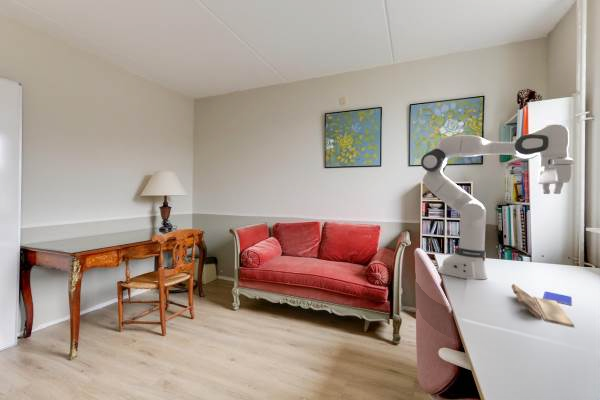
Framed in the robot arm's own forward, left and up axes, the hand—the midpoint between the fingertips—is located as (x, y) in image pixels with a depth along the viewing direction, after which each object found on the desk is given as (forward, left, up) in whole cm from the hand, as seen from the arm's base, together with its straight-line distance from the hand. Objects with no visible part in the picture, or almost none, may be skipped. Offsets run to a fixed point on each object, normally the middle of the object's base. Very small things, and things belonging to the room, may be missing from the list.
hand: (551, 193), depth 116 cm
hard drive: (+1, -11, -44) cm, 45 cm away
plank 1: (-11, -23, -41) cm, 48 cm away
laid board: (-4, -29, -43) cm, 52 cm away
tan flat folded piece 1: (-11, -35, -41) cm, 55 cm away
